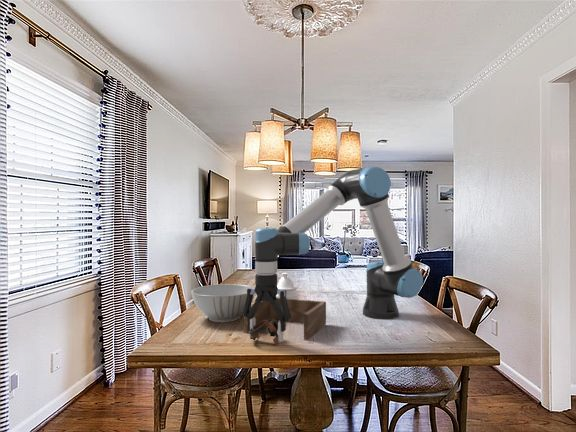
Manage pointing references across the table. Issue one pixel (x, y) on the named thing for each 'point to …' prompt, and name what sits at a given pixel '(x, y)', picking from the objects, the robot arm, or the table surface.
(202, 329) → the table surface
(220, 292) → the decorative bowl
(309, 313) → the walnut u-shaped frame
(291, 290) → the honey pot
